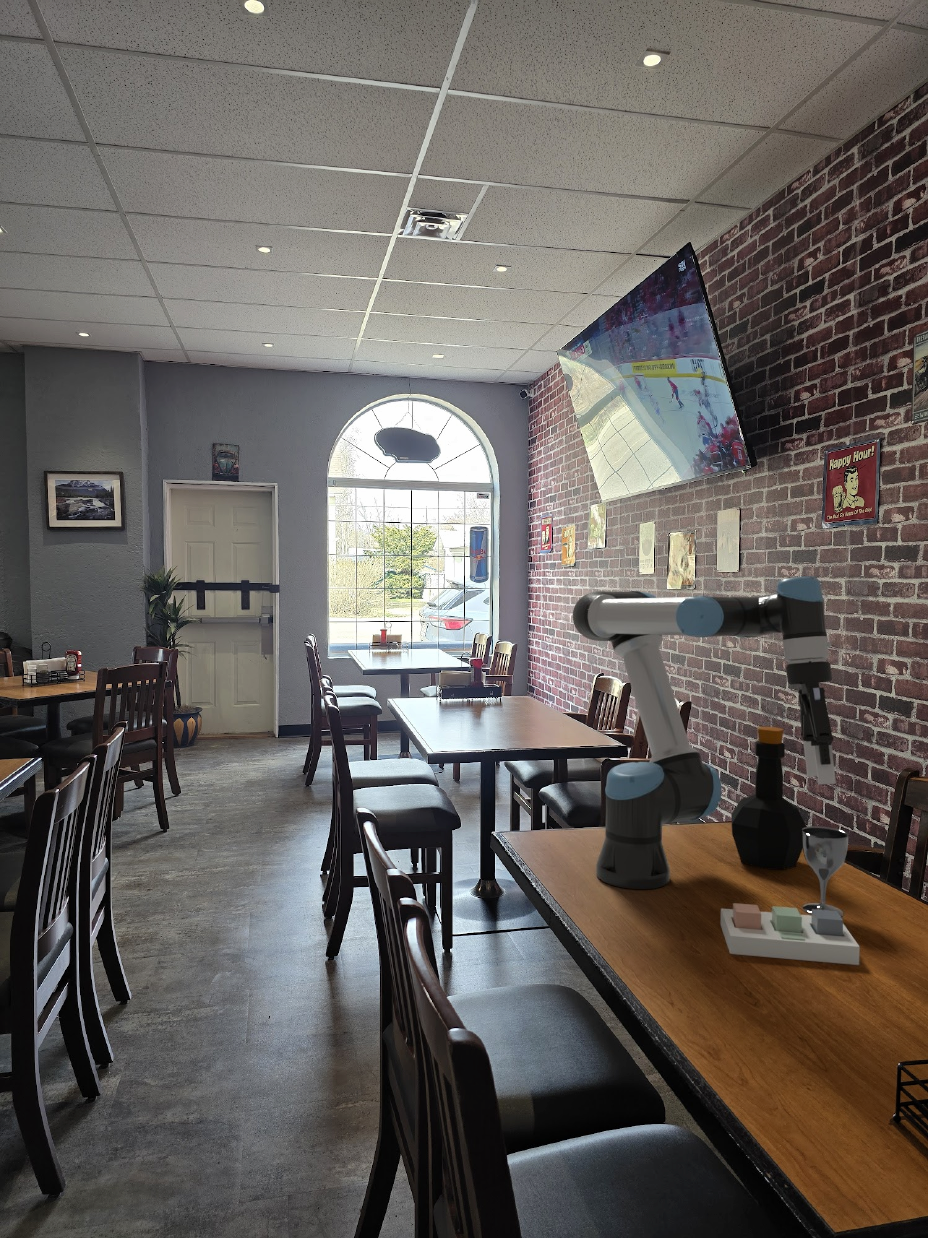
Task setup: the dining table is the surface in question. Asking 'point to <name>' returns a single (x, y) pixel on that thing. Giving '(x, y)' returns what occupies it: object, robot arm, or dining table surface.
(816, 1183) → the dining table surface
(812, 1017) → the dining table surface
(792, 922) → the sage button
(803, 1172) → the dining table surface
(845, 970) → the dining table surface
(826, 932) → the slate grey button
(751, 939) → the button board
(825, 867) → the silver goblet
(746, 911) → the salmon pink button
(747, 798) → the bottle
